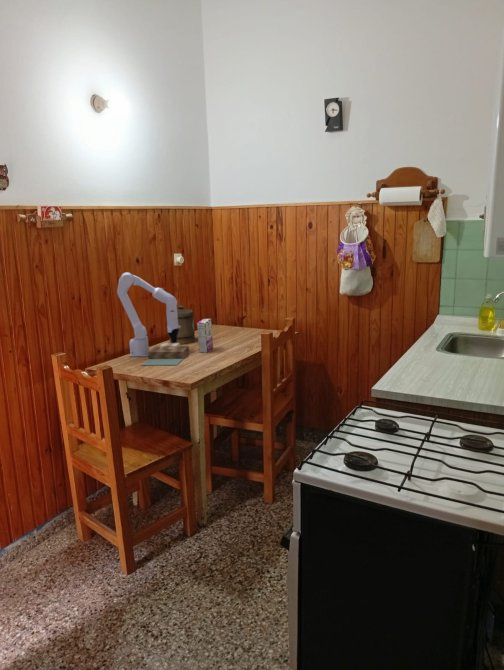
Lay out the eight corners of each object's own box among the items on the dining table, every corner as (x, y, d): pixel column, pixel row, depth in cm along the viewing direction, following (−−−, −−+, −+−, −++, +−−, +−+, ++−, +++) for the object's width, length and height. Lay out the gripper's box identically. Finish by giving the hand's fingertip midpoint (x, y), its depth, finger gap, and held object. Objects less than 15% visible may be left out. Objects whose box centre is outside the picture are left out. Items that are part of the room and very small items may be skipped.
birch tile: (159, 349, 250) (159, 345, 249) (163, 346, 255) (163, 343, 255) (176, 349, 248) (176, 345, 248) (179, 346, 254) (179, 342, 254)
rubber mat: (141, 365, 235) (141, 365, 235) (148, 359, 246) (148, 359, 246) (177, 365, 233) (177, 364, 233) (183, 359, 243) (182, 358, 243)
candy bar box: (204, 347, 266) (202, 318, 263) (213, 347, 265) (211, 318, 262) (198, 352, 255) (196, 322, 252) (207, 353, 254) (205, 322, 251)
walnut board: (149, 359, 246) (148, 352, 245) (156, 353, 258) (155, 346, 257) (183, 359, 244) (182, 351, 243) (189, 353, 255) (188, 345, 255)
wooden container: (200, 340, 284) (197, 303, 280) (181, 345, 274) (178, 307, 269) (184, 337, 294) (181, 302, 290) (164, 342, 284) (161, 305, 279)
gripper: (175, 320, 250) (177, 346, 252) (183, 315, 264) (184, 339, 266) (162, 320, 250) (164, 346, 253) (170, 315, 264) (172, 340, 267)
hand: (174, 342), depth 260 cm, fingers closed
